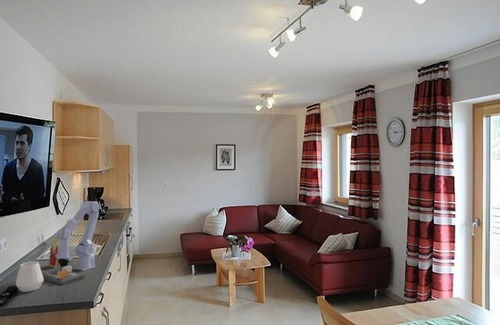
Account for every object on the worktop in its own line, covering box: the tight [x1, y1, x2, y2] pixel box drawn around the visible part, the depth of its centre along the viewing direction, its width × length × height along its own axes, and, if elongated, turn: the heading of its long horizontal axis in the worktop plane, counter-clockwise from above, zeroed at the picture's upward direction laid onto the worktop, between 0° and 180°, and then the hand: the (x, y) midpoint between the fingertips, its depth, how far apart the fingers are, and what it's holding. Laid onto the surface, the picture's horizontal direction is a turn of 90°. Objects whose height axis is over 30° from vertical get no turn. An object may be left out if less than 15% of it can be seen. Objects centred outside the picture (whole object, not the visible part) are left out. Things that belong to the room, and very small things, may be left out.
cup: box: [15, 261, 45, 293], centre depth 202 cm, size 13×13×14 cm
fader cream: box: [62, 264, 73, 273], centre depth 222 cm, size 4×3×4 cm, turn 150°
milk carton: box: [48, 236, 70, 269], centre depth 245 cm, size 9×9×20 cm
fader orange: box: [57, 270, 68, 279], centre depth 213 cm, size 4×3×4 cm, turn 150°
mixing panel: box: [42, 267, 85, 286], centre depth 220 cm, size 13×26×2 cm, turn 60°
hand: (63, 270), depth 224 cm, fingers closed
